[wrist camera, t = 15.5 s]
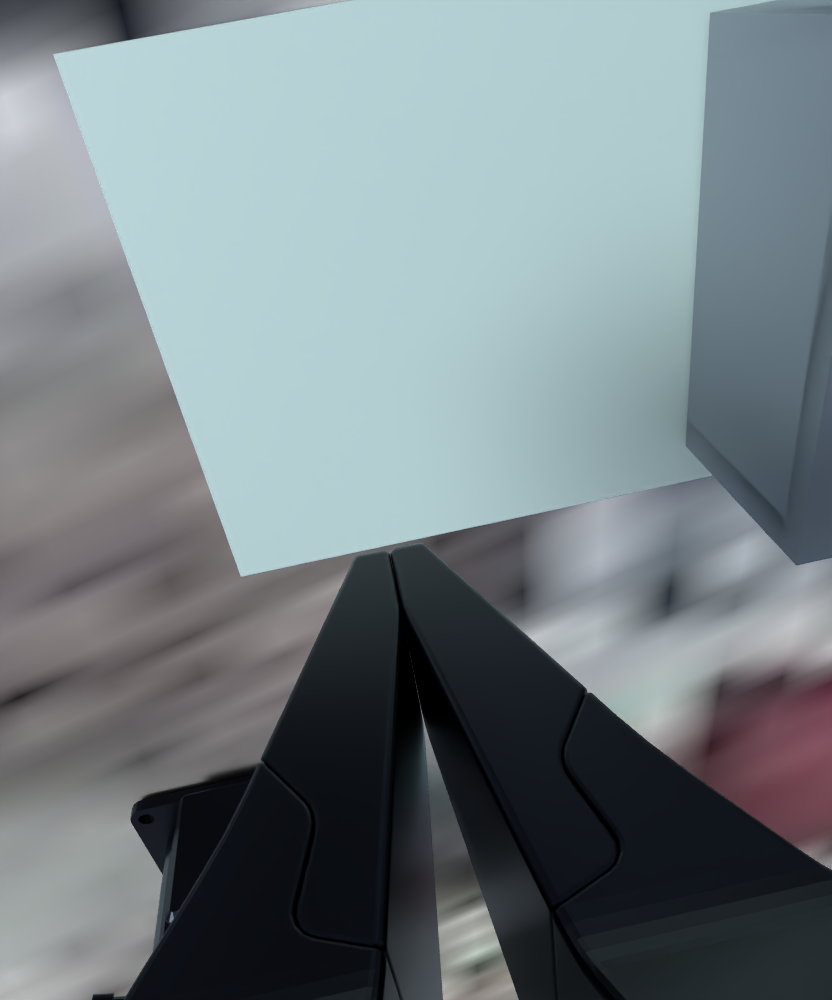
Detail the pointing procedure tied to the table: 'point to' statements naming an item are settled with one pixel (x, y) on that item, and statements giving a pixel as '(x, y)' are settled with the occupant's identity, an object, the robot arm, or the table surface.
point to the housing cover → (767, 271)
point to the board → (412, 255)
